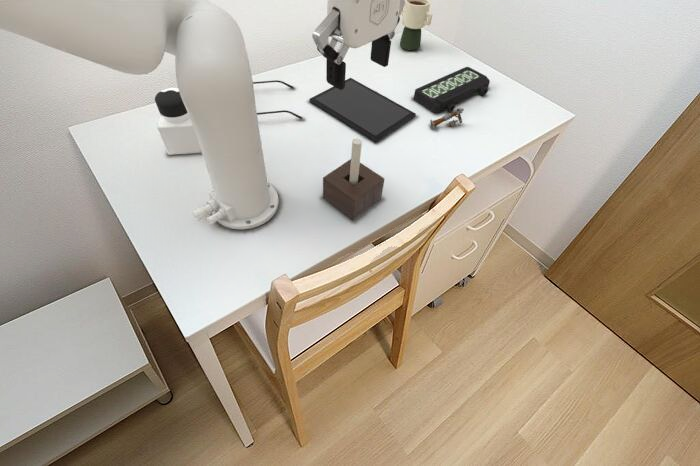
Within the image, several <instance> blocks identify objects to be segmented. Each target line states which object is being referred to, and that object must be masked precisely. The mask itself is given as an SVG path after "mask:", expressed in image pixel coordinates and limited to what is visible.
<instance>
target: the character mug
mask: <svg viewBox="0 0 700 466" xmlns="http://www.w3.org/2000/svg"><path fill="white" fill-rule="evenodd" d="M430 5H431V1H430V0H405V5H404V7H403V10H402V12H401V15H402V17H401V24H402V25H403V26H404V27H403V30H402V32H401V37H400V40H399V46H400V47H401V48H402V49H404V50H408V51H414V50H417V49H420V48H421V43H422V29H423V28H424V27H425V26H428V27H429V26H430V25H431V23H432V19H433V13H431V12H430V8H431V7H430ZM401 15H400V16H401Z"/></svg>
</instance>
